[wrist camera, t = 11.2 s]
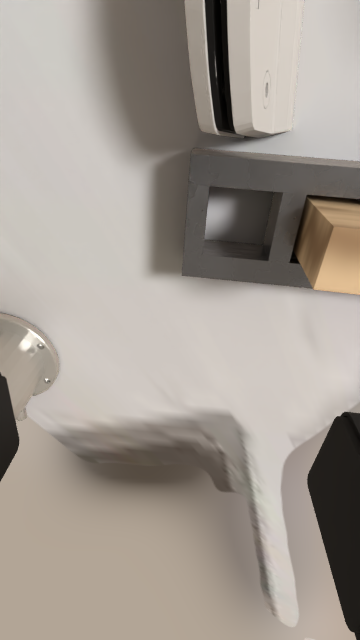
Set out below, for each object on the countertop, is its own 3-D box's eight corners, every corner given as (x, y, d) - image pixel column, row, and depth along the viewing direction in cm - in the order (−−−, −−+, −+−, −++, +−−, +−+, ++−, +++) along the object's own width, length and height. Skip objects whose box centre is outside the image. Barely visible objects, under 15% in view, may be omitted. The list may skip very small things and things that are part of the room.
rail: (430, 281, 34) (454, 302, 30) (185, 258, 35) (181, 275, 31) (486, 171, 28) (522, 181, 25) (193, 147, 29) (190, 154, 26)
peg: (336, 246, 33) (377, 296, 24) (288, 241, 33) (313, 289, 24) (353, 197, 30) (406, 234, 22) (301, 191, 30) (334, 226, 22)
